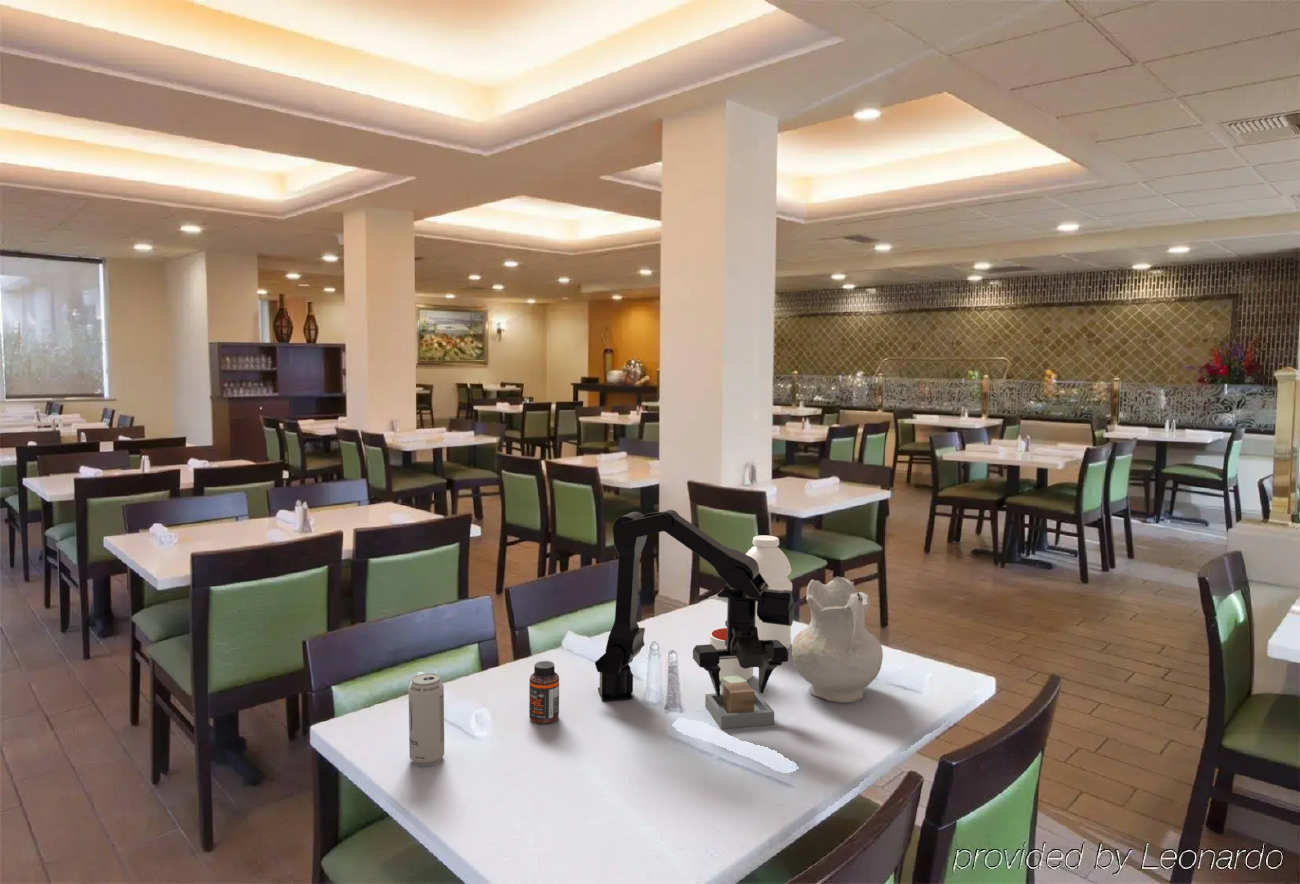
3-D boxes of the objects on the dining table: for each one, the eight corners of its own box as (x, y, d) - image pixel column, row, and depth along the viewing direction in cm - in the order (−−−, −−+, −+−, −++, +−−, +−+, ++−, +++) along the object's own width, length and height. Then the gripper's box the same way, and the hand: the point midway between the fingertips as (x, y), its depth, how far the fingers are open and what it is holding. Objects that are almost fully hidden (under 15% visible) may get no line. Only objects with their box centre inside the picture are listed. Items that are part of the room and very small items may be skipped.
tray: (721, 729, 157) (721, 716, 156) (705, 706, 167) (705, 694, 167) (774, 724, 159) (774, 711, 159) (754, 701, 170) (755, 690, 170)
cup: (755, 685, 179) (756, 642, 178) (710, 684, 179) (711, 641, 178) (750, 669, 189) (751, 627, 188) (708, 668, 189) (708, 627, 188)
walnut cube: (722, 707, 165) (723, 683, 165) (745, 705, 166) (746, 681, 166) (730, 717, 160) (730, 693, 160) (754, 715, 161) (754, 691, 161)
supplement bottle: (523, 721, 159) (522, 665, 158) (540, 710, 165) (540, 656, 164) (547, 727, 157) (547, 671, 156) (564, 716, 162) (565, 661, 161)
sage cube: (731, 702, 170) (731, 684, 169) (721, 695, 173) (721, 677, 173) (746, 698, 172) (747, 680, 171) (736, 692, 175) (736, 674, 175)
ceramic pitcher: (905, 712, 168) (917, 595, 166) (826, 719, 160) (838, 597, 159) (843, 676, 188) (854, 572, 186) (771, 681, 181) (781, 572, 179)
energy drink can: (408, 754, 145) (407, 674, 144) (442, 749, 147) (441, 670, 146) (410, 770, 139) (409, 686, 138) (446, 764, 141) (445, 682, 140)
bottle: (729, 637, 211) (731, 532, 209) (779, 634, 214) (782, 531, 211) (745, 655, 197) (748, 544, 195) (798, 652, 200) (802, 542, 197)
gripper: (708, 635, 152) (707, 714, 153) (800, 629, 156) (798, 706, 157) (692, 617, 162) (691, 691, 164) (779, 612, 166) (777, 685, 168)
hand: (739, 694), depth 163 cm, fingers open, 9 cm apart
